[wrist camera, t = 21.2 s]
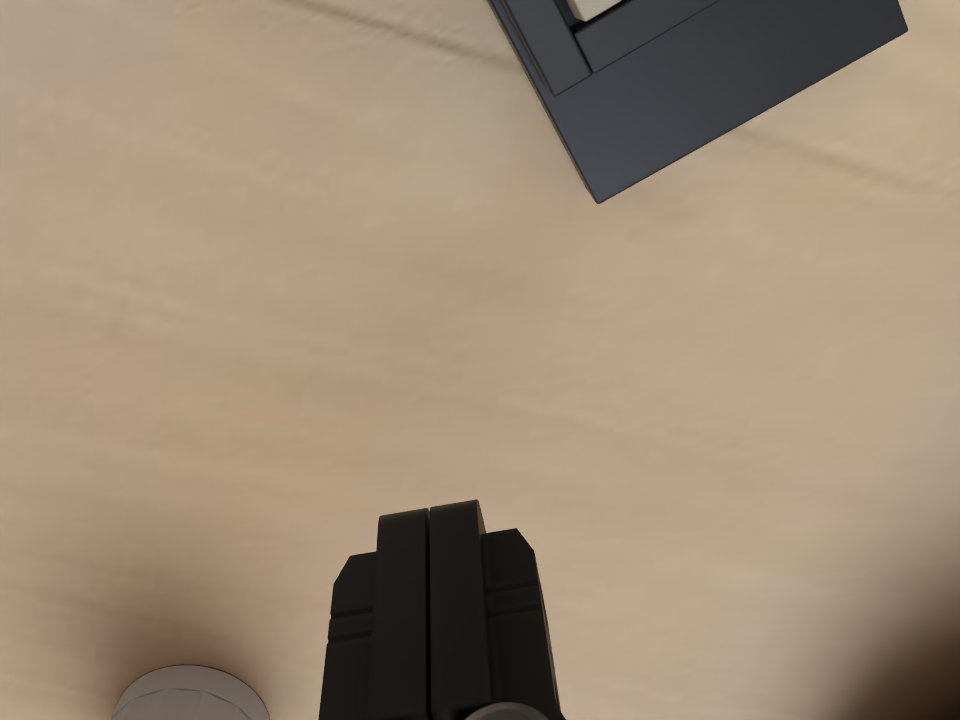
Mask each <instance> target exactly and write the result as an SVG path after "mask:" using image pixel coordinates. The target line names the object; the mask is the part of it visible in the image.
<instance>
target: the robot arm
mask: <svg viewBox="0 0 960 720" xmlns="http://www.w3.org/2000/svg"><path fill="white" fill-rule="evenodd" d="M330 614H331V619H330V622H329V631H328V644H327V649H326V658H325V667H324V676H323V685H322V694H321V703H320V712H319V720H566V719H565V718H564V716H563V715H562V713H561V709H560V702H559V696H558V689H557V682H556V676H555V668H554V662H553V655H552V648H551V641H550V634H549V628H548V621H547V615H546V610H545V605H544V600H543V595H542V589H541V584H540V579H539V574H538V569H537V563H536V558H535V553H534V550H533V549H532V548H531V546H530V545H529V544H528V542H527V541H526V540H525V539H524V537H523V536H522V535H521V533H520V532H519V531H518V529H517V528H515V529H509V530H503V531H497V532H491V533H486V530H485V526H484V521H483V517H482V513H481V508H480V505H479V501H478V500H471V501H465V502H459V503H453V504H447V505H441V506H435V507H431V508H430V511H429V509H428V508H424V509H418V510H412V511H406V512H400V513H394V514H388V515H382V516H380V518H379V522H378V536H377V551H376V552H370V553H364V554H358V555H352V556H350V557H349V559H348V560H347V562H346V564H345V565H344V567H343V569H342V571H341V572H340V574H339V576H338V577H337V579H336V581H335V583H334V586H333V595H332V604H331V613H330Z"/></svg>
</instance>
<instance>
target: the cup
mask: <svg viewBox="0 0 960 720" xmlns="http://www.w3.org/2000/svg"><path fill="white" fill-rule="evenodd" d="M111 720H270V719H269V715H268V712H267V710H266V708H265V706H264V704H263V702H262V701H261V699H260V698H259V697H258V695H257V694H256V693H255V692H254V691H253V690H252V689H251V688H250V687H248V686H247V685H246V684H245V683H243V682H242V681H240V680H239V679H237V678H235V677H233V676H231V675H229V674H227V673H225V672H222V671H219V670H216V669H212V668H208V667H202V666H194V665H179V666H170V667H165V668H161V669H158V670H155V671H152V672H150V673H147V674H145V675H144V676H142V677H140V678H139V679H137V680H136V681H134V682H133V683H132V684H131V685H130V686H129V687H128V688H127V689H126V690H125V691H124V693H123V694H122V696H121V698H120V699H119V702H118V704H117V706H116V708H115V711H114V713H113V715H112V718H111Z"/></svg>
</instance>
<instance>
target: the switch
mask: <svg viewBox="0 0 960 720" xmlns="http://www.w3.org/2000/svg"><path fill="white" fill-rule="evenodd" d="M487 1H488V3H489V5H490V7H491V9H492V11H493V13H494V14H495V16H496V18H497V20H498V22H499V24H500V26H501V28H502V30H503V31H504V33H505V35H506V37H507V39H508V41H509V43H510V45H511V47H512V49H513V50H514V52H515V54H516V56H517V58H518V60H519V62H520V64H521V66H522V67H523V69H524V71H525V73H526V75H527V77H528V79H529V81H530V83H531V84H532V86H533V88H534V90H535V92H536V94H537V96H538V98H539V100H540V102H541V103H542V105H543V107H544V109H545V111H546V113H547V115H548V117H549V119H550V120H551V122H552V124H553V126H554V128H555V130H556V132H557V134H558V136H559V138H560V139H561V141H562V143H563V145H564V147H565V149H566V151H567V153H568V155H569V156H570V158H571V160H572V162H573V164H574V166H575V168H576V170H577V172H578V174H579V175H580V177H581V179H582V181H583V183H584V185H585V187H586V189H587V190H588V192H589V193H590V194H591V196H592V197H593V199H594V200H595V202H596V203H597V204H600V203H602V202H604V201H606V200H607V199H609V198H611V197H613V196H615V195H616V194H618V193H620V192H622V191H624V190H625V189H627V188H629V187H631V186H633V185H634V184H636V183H638V182H640V181H641V180H643V179H645V178H647V177H649V176H650V175H652V174H654V173H656V172H658V171H659V170H661V169H663V168H665V167H666V166H668V165H670V164H672V163H674V162H675V161H677V160H679V159H681V158H683V157H684V156H686V155H688V154H690V153H692V152H693V151H695V150H697V149H699V148H700V147H702V146H704V145H706V144H708V143H709V142H711V141H713V140H715V139H717V138H718V137H720V136H722V135H724V134H725V133H727V132H729V131H731V130H733V129H734V128H736V127H738V126H740V125H742V124H743V123H745V122H747V121H749V120H750V119H752V118H754V117H756V116H758V115H759V114H761V113H763V112H765V111H767V110H768V109H770V108H772V107H774V106H776V105H777V104H779V103H781V102H783V101H784V100H786V99H788V98H790V97H792V96H793V95H795V94H797V93H799V92H801V91H802V90H804V89H806V88H808V87H809V86H811V85H813V84H815V83H817V82H818V81H820V80H822V79H824V78H826V77H827V76H829V75H831V74H833V73H834V72H836V71H838V70H840V69H842V68H843V67H845V66H847V65H849V64H851V63H852V62H854V61H856V60H858V59H860V58H861V57H863V56H865V55H867V54H868V53H870V52H872V51H874V50H876V49H877V48H879V47H881V46H883V45H885V44H886V43H888V42H890V41H892V40H893V39H895V38H897V37H899V36H901V35H902V34H904V33H906V32H907V31H908V28H907V25H906V22H905V19H904V16H903V14H902V11H901V8H900V5H899V2H898V0H622V1H620V2H618V3H617V4H615V5H613V6H612V7H610V8H608V9H607V10H605V11H603V12H601V13H600V14H598V15H596V16H595V17H593V18H591V19H590V20H588V21H583V20H580V19H577V18H575V17H574V15H573V13H572V11H571V9H570V7H569V5H568V3H567V1H566V0H487Z"/></svg>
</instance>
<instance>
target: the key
mask: <svg viewBox="0 0 960 720" xmlns="http://www.w3.org/2000/svg"><path fill="white" fill-rule="evenodd" d="M566 1H567V3H568V5H569V7H570V9H571V11H572V13H573V15H574V17H575V18H577V19H580V20H583V21H588V20H590V19H591V18H593V17H595V16H596V15H598V14H600V13H601V12H603V11H605V10H607V9H608V8H610V7H612V6H613V5H615V4H617V3H618V2H620V1H622V0H566Z"/></svg>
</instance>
